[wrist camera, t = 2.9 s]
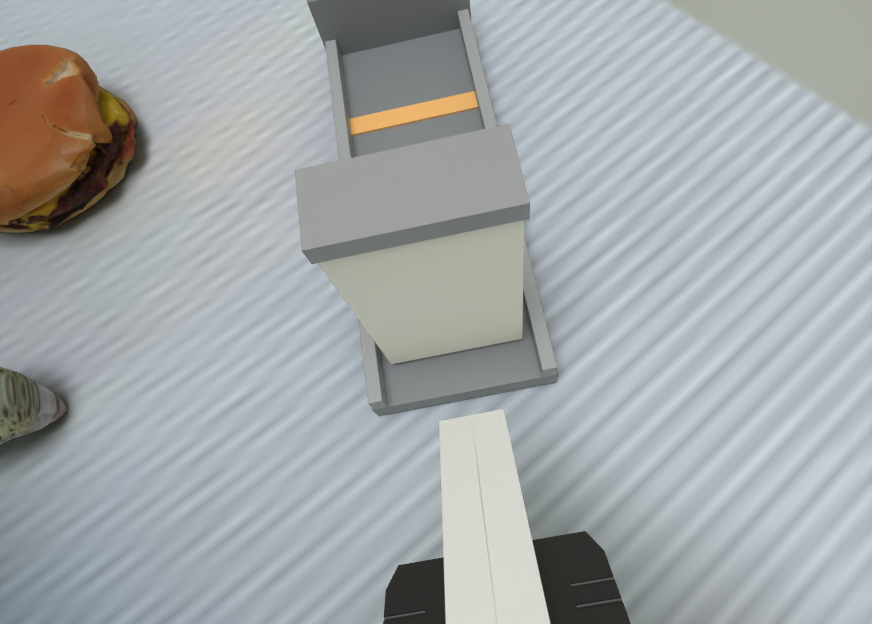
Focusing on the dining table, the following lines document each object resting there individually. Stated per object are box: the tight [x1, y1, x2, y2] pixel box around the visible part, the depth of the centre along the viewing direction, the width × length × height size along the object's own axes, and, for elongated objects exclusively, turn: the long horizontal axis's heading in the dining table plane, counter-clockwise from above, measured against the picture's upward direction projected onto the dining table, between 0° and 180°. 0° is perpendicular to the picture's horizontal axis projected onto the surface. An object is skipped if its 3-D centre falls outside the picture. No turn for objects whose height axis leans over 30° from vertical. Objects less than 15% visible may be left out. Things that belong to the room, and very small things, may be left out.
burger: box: [0, 45, 136, 233], centre depth 28 cm, size 10×9×5 cm
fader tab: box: [295, 124, 530, 364], centre depth 18 cm, size 2×5×10 cm, turn 99°
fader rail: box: [307, 0, 558, 416], centre depth 24 cm, size 18×7×4 cm, turn 9°
